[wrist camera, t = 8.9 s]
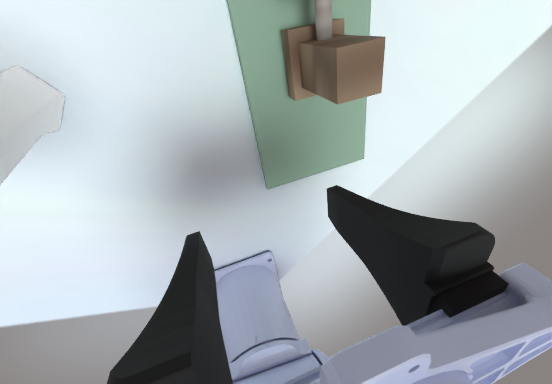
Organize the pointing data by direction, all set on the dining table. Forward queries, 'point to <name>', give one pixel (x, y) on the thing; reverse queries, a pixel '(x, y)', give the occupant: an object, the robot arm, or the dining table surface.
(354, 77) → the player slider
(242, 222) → the dining table surface
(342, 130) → the pitch mat
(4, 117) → the perfume bottle
